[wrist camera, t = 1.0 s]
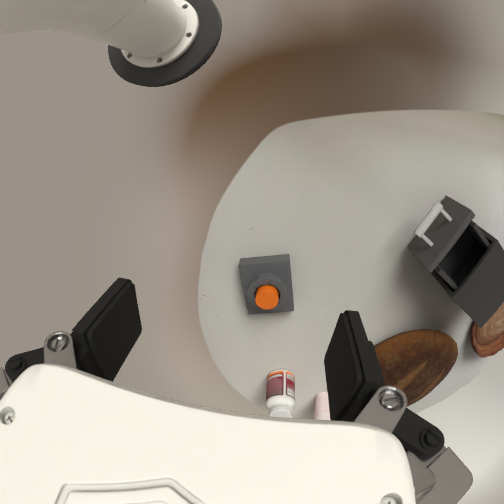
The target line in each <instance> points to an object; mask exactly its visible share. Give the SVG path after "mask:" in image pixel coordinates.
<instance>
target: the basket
mask: <svg viewBox="0 0 504 504" xmlns="http://www.w3.org/2000/svg"><path fill="white" fill-rule="evenodd" d="M471 344H472V348H473V349H474V351H475V352H476V353H477V354H478V355H479V356H480V357H482V358H483V357H487V356H491V355H492V356H493V355H494V354H496V353H497V352H498V351H500V350H502V348H504V302H503V304H502V305H501V306H500V307H499V309H498V310H497V311H496V312H495V313H494V314H493V316H492V317H491V318H490V319H489V320H488V321H487V322H486V324H485V325H484V326H483V327H482V328H480V327H479V326H478V325H477V324H476V323H475V322H474V323H473V325H472V331H471Z"/></svg>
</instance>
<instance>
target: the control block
mask: <svg viewBox="0 0 504 504" xmlns="http://www.w3.org/2000/svg"><path fill="white" fill-rule="evenodd" d="M239 269H240V274H241V279H242V284H243V289H244V294H245V299H246V304H247V309H248V314H260V313H274V312H287V311H294V303H293V292H292V280H291V270H290V259H289V254H285V255H275V256H264V257H254V258H243V259H240V262H239ZM263 285H271V286H273V287H275V288H276V289H277V290H278V293H279V299H278V304H277V305H276V306H275V307H274V308H272V309H262V308H260V307H259V306H258V305H257V304H256V301H255V298H256V291H257V289H258V288H259V287H261V286H263Z"/></svg>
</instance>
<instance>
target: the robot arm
mask: <svg viewBox="0 0 504 504" xmlns="http://www.w3.org/2000/svg"><path fill="white" fill-rule="evenodd" d="M185 8H186V9H185ZM198 28H199V18H198V15H197V12H196V11H195V9H194V8H193V7H192V6H191V4H189V3H188V2H186V1H185V0H0V33H16V32H23V31H33V30H52V31H60V32H65V33H69V34H73V35H78V36H81V37H84V38H88V39H91V40H95V41H98V42H101V43H104V44H107V45H110V46H113V47H116V48H119V49H121V51H122V53H123V55H124V57H125V58H126V59H127V60H128V61H129V62H130V63H132V64H134V65H137V66H140V67H144V68H154V67H160V66H163V65H166V64H168V63H170V62H172V61H174V60H176V59H177V58H179V57H180V56H181V55H182V54H183V53H185V52H186V51H187V49H188V48H189V47H190V46H191V45H192V43H193V41H194V40H195V38H196V35H197V33H198ZM190 35H192V36H191V37H189V36H190ZM161 60H162V62H161ZM72 330H73V332H72V333H71V334H69V333H67V332H64V331H58V332H54V333H52V334H50V335H49V336H48V337H47V338H46V340H45V342H44V347H43V348H39V349H36V350H32V351H28V352H24V353H21V354H17V355H14V356H12V357H11V358H10V359H9V360H8V361H7V363H6V365H5V369H4V370H3V369H2V368H0V504H457V502H458V501H459V500H460V499H461V498H462V497H463V496H464V495H465V493H466V492H467V491H468V490H469V488H470V486H471V485H472V482H473V477H472V474H471V472H470V470H469V469H468V468H467V467H466V466H465V465H464V464H463V462H462V461H461V460H460V459H459V458H458V457H457V456H456V454H455V453H454V452H453V451H452V450H451V449H450V448H449V447H448V448H447V449H446V448H445V447H444V436H443V434H442V432H441V431H440V430H439V429H438V428H437V427H435V426H434V425H432V424H431V423H429V422H428V421H426V420H424V419H423V418H421V417H420V416H418V415H417V414H415V413H414V412H412V411H411V410H409V409H408V408H406V407H407V397H406V395H405V394H404V392H403V391H402V390H400V389H399V388H397V387H395V386H390V385H387V386H386V385H385V381H384V378H383V374H382V371H381V368H380V364H379V361H378V358H377V355H376V352H375V349H374V346H373V343H372V342H371V341H368V339H367V336H366V333H365V330H364V327H363V324H362V321H361V318H360V315H359V312H358V311H348V310H346V311H345V312H344V313H341V314H340V316H339V319H338V321H337V324H336V327H335V330H334V333H333V336H332V338H331V341H330V344H329V346H328V349H327V352H326V354H325V358H324V365H325V373H326V382H327V391H328V401H329V411H330V420H312V419H296V418H283V417H272V416H263V415H254V414H247V413H239V412H233V411H226V410H221V409H215V408H210V407H204V406H199V405H195V404H190V403H186V402H181V401H177V400H173V399H169V398H165V397H161V396H158V395H154V394H150V393H147V392H143V391H140V390H137V389H133V388H130V387H127V386H124V385H121V384H118V383H115V382H113V380H114V378H115V377H116V375H117V373H118V371H119V369H120V368H121V366H122V364H123V363H124V361H125V359H126V358H127V356H128V354H129V352H130V351H131V349H132V347H133V346H134V344H135V342H136V341H137V339H138V337H139V336H140V334H141V331H142V326H141V321H140V315H139V310H138V304H137V298H136V291H135V286H134V284H133V283H132V282H131V280H129V279H124V278H118V279H117V280H116V281H115V282H114V283H113V284H112V285H111V286H110V287H109V289H108V290H107V291H106V292H105V293H104V294H103V295H102V296H101V297H100V298H99V300H98V301H97V302H96V303H95V304H94V305H93V306H92V307H91V308H90V310H89V311H88V312H87V313H86V314H85V315H84V317H83V318H82V319H81V320H80V321H79V322H78V323H77V325H76V326H75V327H74V328H73V329H72ZM414 487H415V492H414Z"/></svg>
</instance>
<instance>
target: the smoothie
mask: <svg viewBox="0 0 504 504" xmlns="http://www.w3.org/2000/svg"><path fill="white" fill-rule="evenodd" d="M314 420H330V411H329V401H328V392H321V393H318V394H317V395H316V401H315V413H314Z"/></svg>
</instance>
